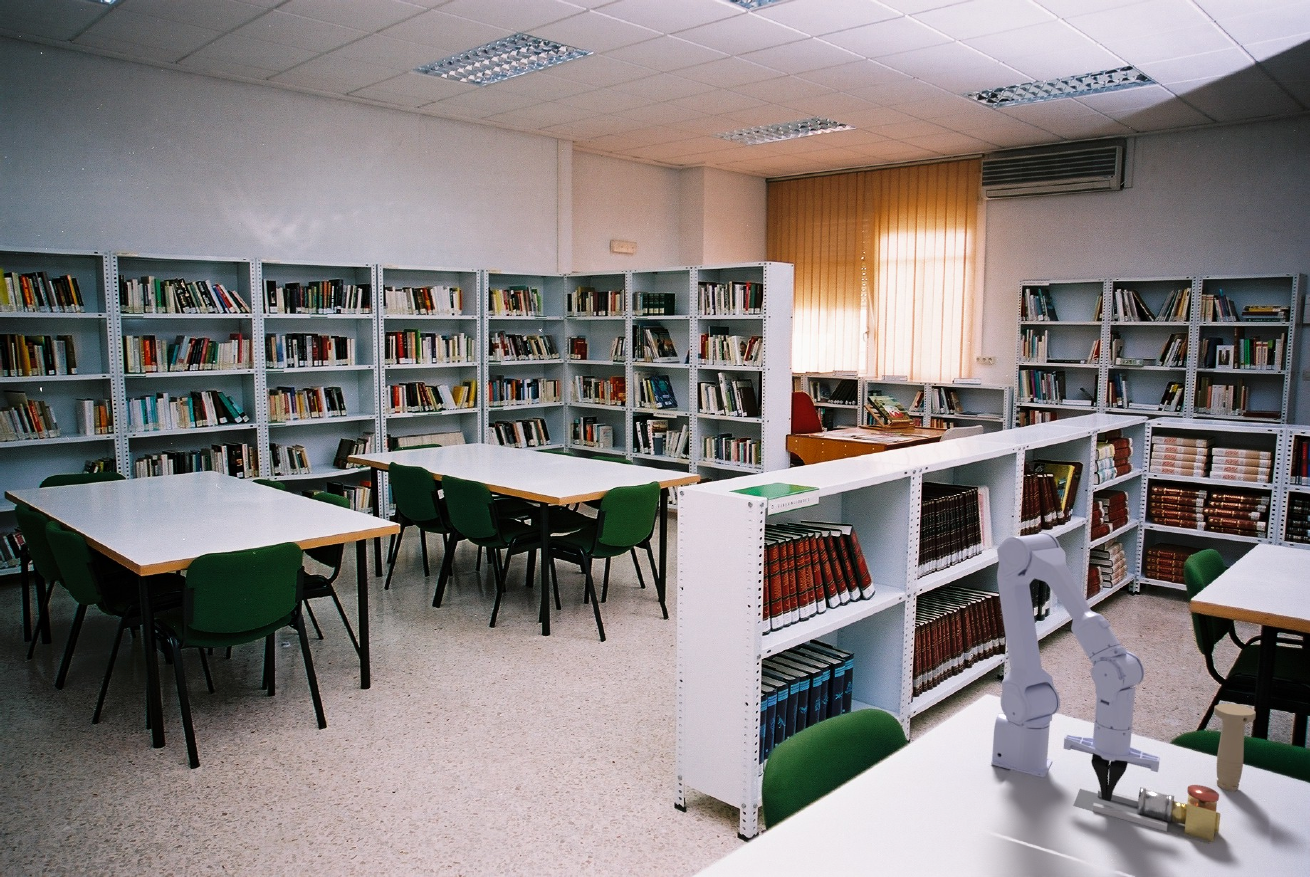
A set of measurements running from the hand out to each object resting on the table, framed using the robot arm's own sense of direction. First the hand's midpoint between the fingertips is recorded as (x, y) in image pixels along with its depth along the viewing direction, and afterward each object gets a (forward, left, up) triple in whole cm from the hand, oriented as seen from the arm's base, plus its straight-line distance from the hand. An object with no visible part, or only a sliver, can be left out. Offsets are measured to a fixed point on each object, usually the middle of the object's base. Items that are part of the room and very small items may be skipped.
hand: (1106, 797), depth 154 cm
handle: (+17, +20, -2) cm, 26 cm away
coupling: (+7, 0, -1) cm, 7 cm away
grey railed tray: (+5, 0, -2) cm, 6 cm away
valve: (+14, 0, -2) cm, 14 cm away
